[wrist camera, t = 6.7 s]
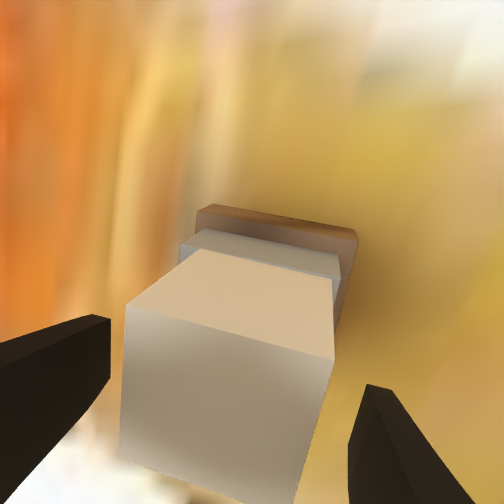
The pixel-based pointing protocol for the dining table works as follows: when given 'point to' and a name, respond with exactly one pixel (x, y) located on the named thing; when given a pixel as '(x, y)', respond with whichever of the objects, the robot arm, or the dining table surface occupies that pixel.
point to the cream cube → (227, 375)
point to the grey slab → (265, 254)
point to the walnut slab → (286, 237)
